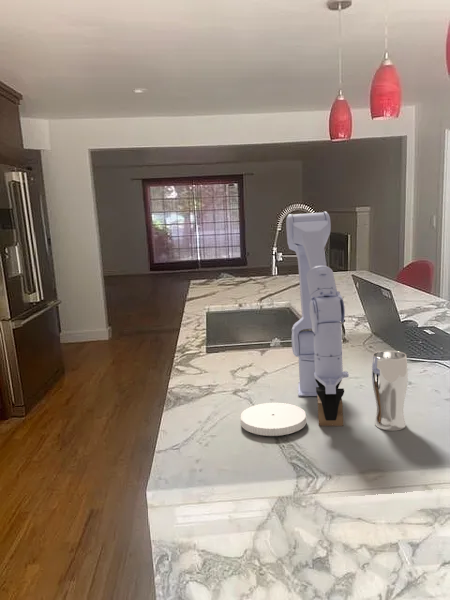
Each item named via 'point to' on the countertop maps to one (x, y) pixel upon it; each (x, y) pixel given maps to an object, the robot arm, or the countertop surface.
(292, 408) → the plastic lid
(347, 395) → the countertop surface
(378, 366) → the beer glass
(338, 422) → the walnut cube
